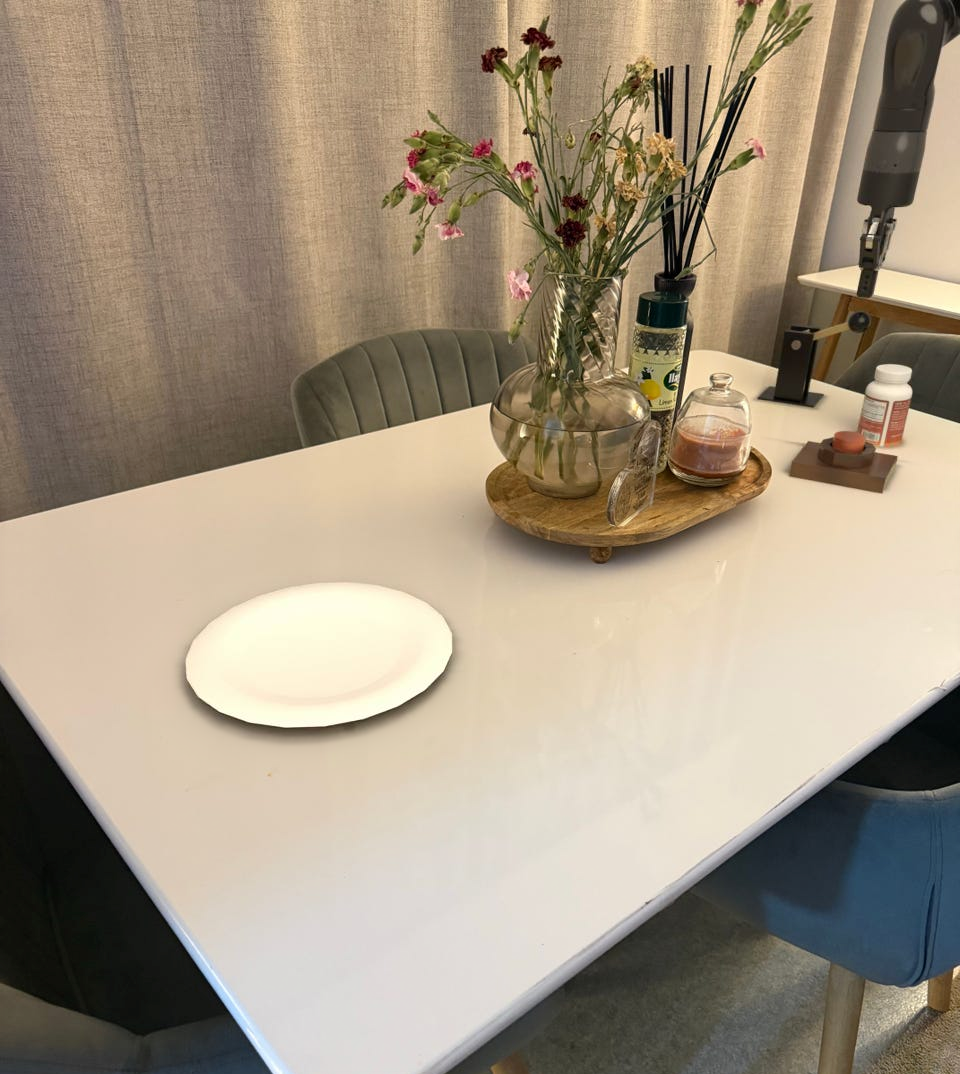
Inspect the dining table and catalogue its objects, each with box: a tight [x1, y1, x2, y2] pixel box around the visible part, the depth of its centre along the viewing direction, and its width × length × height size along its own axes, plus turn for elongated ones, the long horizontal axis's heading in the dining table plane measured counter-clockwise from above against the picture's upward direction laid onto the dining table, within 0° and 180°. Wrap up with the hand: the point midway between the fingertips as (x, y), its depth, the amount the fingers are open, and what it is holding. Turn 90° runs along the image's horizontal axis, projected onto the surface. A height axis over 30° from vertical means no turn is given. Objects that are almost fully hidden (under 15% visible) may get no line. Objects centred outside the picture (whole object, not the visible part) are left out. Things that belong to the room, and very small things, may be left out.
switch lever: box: [802, 310, 872, 341], centre depth 142 cm, size 12×3×3 cm, turn 60°
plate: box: [184, 581, 453, 730], centre depth 87 cm, size 25×25×2 cm
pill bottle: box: [857, 363, 913, 447], centre depth 131 cm, size 6×6×11 cm
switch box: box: [788, 436, 899, 495], centre depth 124 cm, size 12×9×4 cm
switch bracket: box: [757, 324, 825, 409], centre depth 147 cm, size 9×7×12 cm
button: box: [832, 430, 866, 452], centre depth 122 cm, size 4×4×2 cm
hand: (864, 296), depth 138 cm, fingers closed
